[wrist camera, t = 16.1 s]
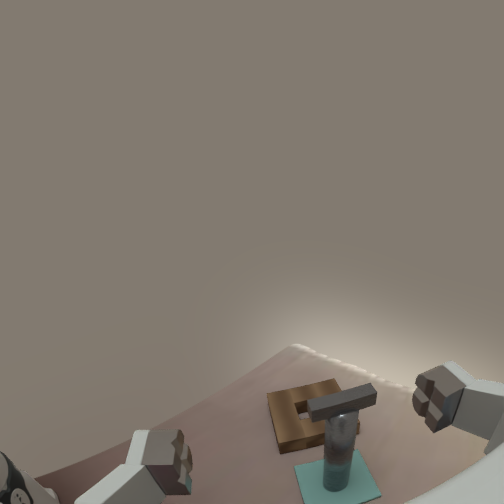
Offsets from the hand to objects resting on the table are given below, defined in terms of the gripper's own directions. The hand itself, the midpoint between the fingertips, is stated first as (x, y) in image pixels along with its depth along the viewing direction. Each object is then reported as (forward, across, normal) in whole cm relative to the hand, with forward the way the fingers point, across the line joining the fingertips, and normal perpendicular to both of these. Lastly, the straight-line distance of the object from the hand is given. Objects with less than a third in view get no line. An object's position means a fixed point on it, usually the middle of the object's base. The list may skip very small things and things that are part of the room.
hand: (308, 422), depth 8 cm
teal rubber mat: (+15, -7, +32) cm, 36 cm away
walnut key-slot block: (+30, -7, +32) cm, 44 cm away
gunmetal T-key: (+15, -7, +32) cm, 36 cm away
